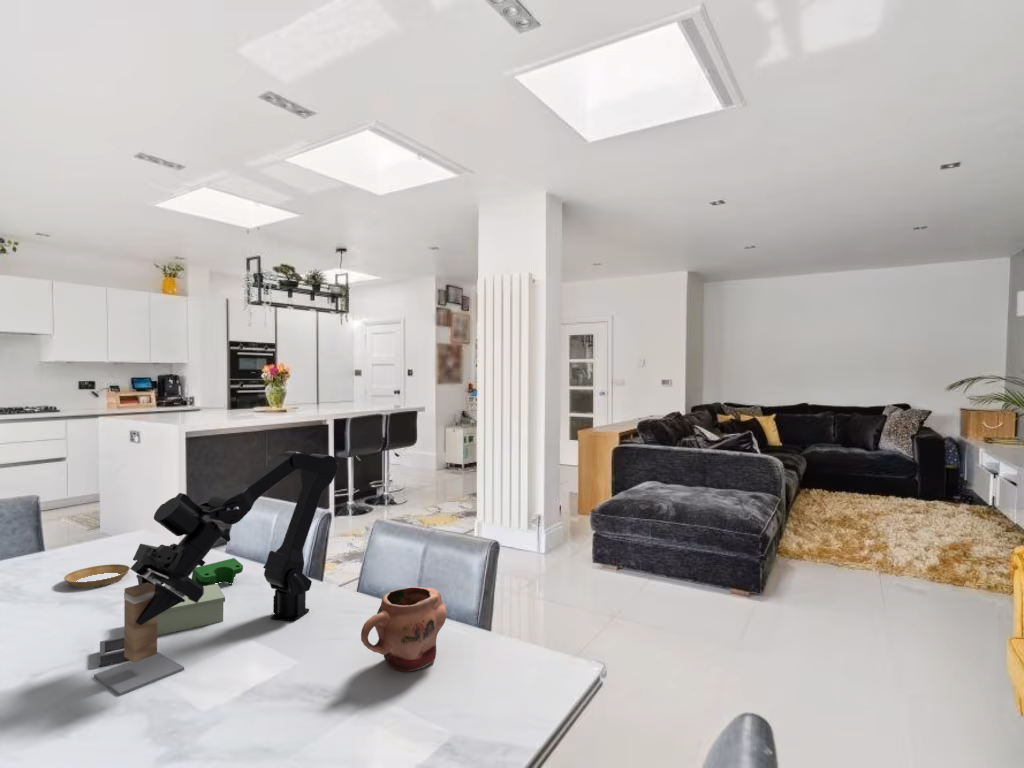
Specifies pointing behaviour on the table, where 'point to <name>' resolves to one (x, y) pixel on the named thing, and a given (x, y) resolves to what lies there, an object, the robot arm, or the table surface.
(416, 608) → the terracotta mug
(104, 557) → the table surface
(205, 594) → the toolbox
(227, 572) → the clamp
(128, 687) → the mat
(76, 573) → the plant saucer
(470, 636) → the table surface
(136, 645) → the banded wooden block
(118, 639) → the dark grey square frame
